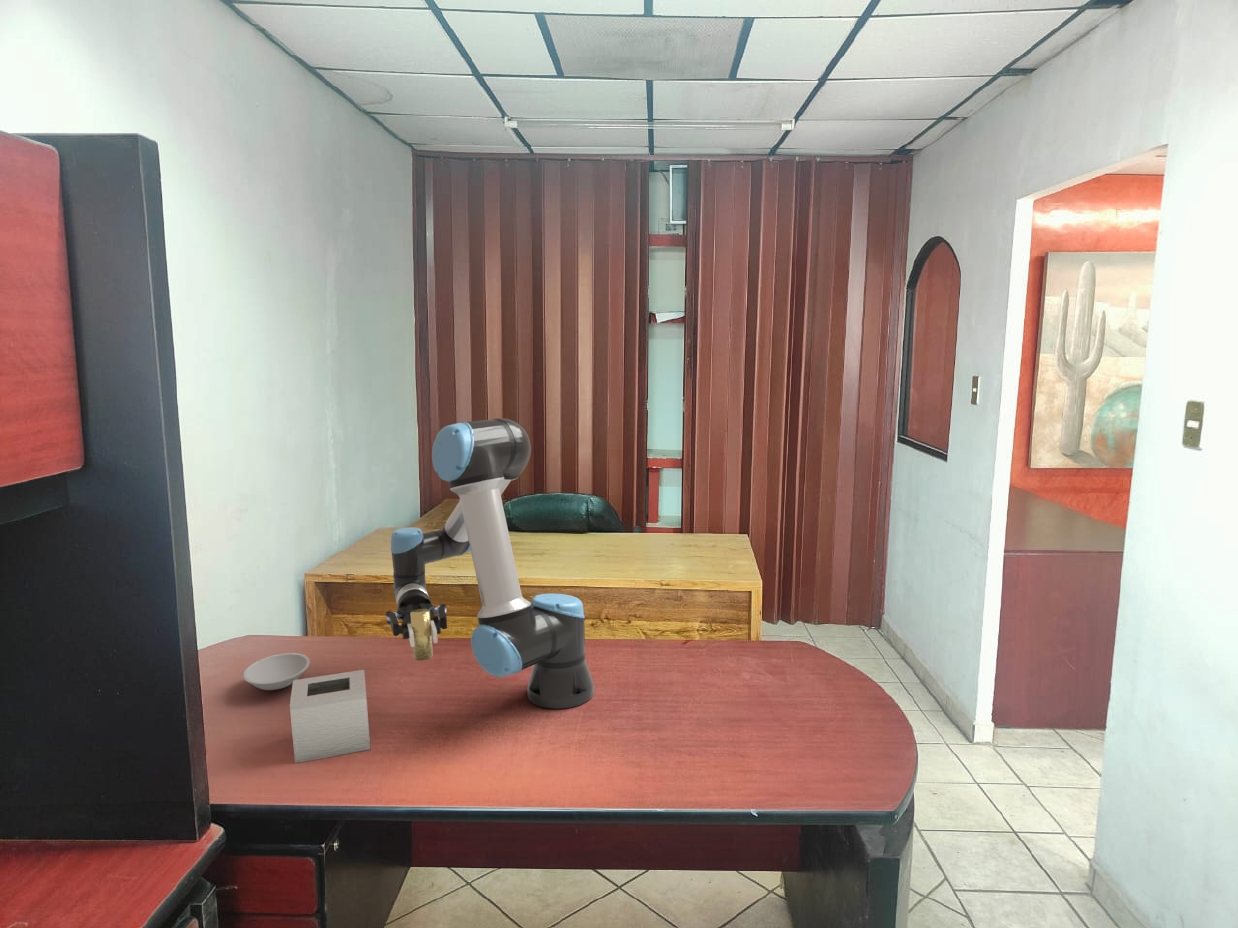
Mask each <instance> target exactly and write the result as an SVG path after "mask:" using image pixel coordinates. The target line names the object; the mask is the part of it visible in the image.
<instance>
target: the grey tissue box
mask: <svg viewBox="0 0 1238 928" xmlns="http://www.w3.org/2000/svg"><path fill="white" fill-rule="evenodd" d="M365 675H366V673H365V669H359V670H354V671H352V670H351V671H347V672H346V671H345V672H340V673H334V674H327V675H320V676H315V677H314V676H312V677H305V678H298V679H297V680H293V683H292V684H291V685H292V686H291V687H292V688H291V694H290V701H289V711H290V713H289V714H290V723H291V724H290V725H291V735H292V743H293V745H292V746H293V754H294V755H293V756H294V764H297V763H298V764H299V763H304V762H309V761H310V762H311V761H316V760H321V759H326V758H333V757H337V756H342V755H343V756H344V755H347V754H353V753H359V752H364V751H370V750H371V740H370V727H369V716H368V715H369V713H368V712H369V711H368V700H367V690H366V689H367V688H366V677H365Z"/></svg>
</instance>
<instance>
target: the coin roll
mask: <svg viewBox="0 0 1238 928" xmlns="http://www.w3.org/2000/svg"><path fill="white" fill-rule="evenodd" d="M410 615H411V626H412V629H413V633H414V644H415V646H413V647H412V653H413V654H412V655H413V660H415V661H427V660H430V659H432V658H433V656H434V654H433V653H434V652H433V651H434V649H433V639H432V636H431V621H430V610H428V609H417V610H413V611H411V613H410Z"/></svg>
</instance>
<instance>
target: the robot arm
mask: <svg viewBox="0 0 1238 928" xmlns="http://www.w3.org/2000/svg"><path fill="white" fill-rule="evenodd" d="M431 449H432V451H431V460H432V467H433V470H434V472H435V473H436V474H437V475H438V477H439V478H440V479H441V480H443V481H445V482H448V485H449V488H450V491H451V492H453V493H454V494H456V495H457V496H458V497H459V502H458V503H457V504H456V506H455V507H454V509H453V511H452V512H451V514H450V516H449V517H448V519H447V520H446V522H445V523H444V524H443V526H442V527H441V528H440V529H437V530H432V531H428V532H423V530H422V529H421V528H419V527H413V526H412V527H410V526H409V527H402V528H398V529H395V530H393V531H392V533H391V535H390V538H391V539H390V551H391V561H392V569H393V572H392V573H393V576H392V577H393V588H392V589H393V596H394V598H395V601H396V606H397V610H396V611H394V612H393V611H390V610H388V611H386V612H385V618H386V623H387V625H390V628H391V632H392V634H393V636H394V637H396V636H400V634H402V639H403V640H407V639H408V640H409V645H410V647H411V648H413V646H415V644H414V633H413V629H412V626H411V615H410V613H411V611H413V610H417V609H428V610H430V621H431V636H432V643H433V644H438V641H439V640H438V635H440V634H441V633H442V630H446V629H448V620H447V619H448V617H447V604H446V603H442V604H440V605H438V606H437V607H436V606H435V605H434V604H432V601H431V599H430V596H429V594H428V591H427V586H426V585H427V582H426V564H430V563H434V562H438V561H441V560H446V559H450V558H453V557H460V556H463V555H464V554H468V553H471V557H472V558H471V559H472V563H473V568H474V572H475V577H476V581H477V582H476V583H477V586H478V591H479V595H480V600H481V609H480V610H479V611H478V613H477V615H476V616H477V621H478V626H476V628H474V630H472V633H471V637H470V645H471V650H472V653H473V656H474V657H475V660H476V661H477V662H478V664H479V666H481V668H483V670H484V671H485V672H487V674H489V675H491V676H493V677H496V678H503V677H507V676H510V675H516V674H519V672H521V671H523V670H525V669H527V668H528V669H529V668H530V667H532V669H531V670H532V671H531V673H530V676H529V681H528V683H527V689H526V690H527V699H528V700H529V701H530V703H532V704H533V705H536V706H538V707H540V708H545V709H554V710H555V709H556V710H559V709H560V710H561V709H569V708H575V707H577V706H580V705H583V704H585V703H587V702H588V701H589V700H591V699H592V698H593V696H594V693H595V691H594V690H595V687H594V680H593V678H592V675H591V673H590V670H589V667H588V664H587V662H586V643H585V640H586V638H585V637H586V635H585V632H586V631H585V618H586V616H585V614H584V613H585V612H584V604H583V601H581V599H579V598H578V597H576V596H573V595H570V594H569V595H568V594H563V593H540V594H537V595H534V596H533V597H532V598H531V601H530V600H527V599H526V598H524V596H523V594H522V590H521V586H520V581H519V575H518V571H517V565H516V562H515V556H514V552H513V547H512V542H511V538H510V532H509V529H508V523H507V518H506V513H505V511H504V510H505V509H504V506H503V501H502V494H503V493H504V491H505V490H506V489H507V487H508V486H509V484H510V483H511V481H514V480H517V479H519V477H520V476H521V475H522V473H523V472H524V470H525V469H526V466H528V464H529V461H530V458H531V454H532V453H531V452H532V446H531V441H530V437H529V435H528V434H527V431H526V430H525V429H524V428H523V427H522V425H520V424H519V423H518V422H516V421H515V420H511V419H509V418H501V417H500V418H493V419H483V420H473V421H472V420H471V421H461V422H458V423H452V424H450V425H446V426H444V427H443V428H441V430H439V432H438V433H437V434H436V436H435V439H434V441H433V445H432V448H431ZM435 614H436V615H437V616H436V615H435ZM398 620H401V621H402V623H401V624H400V625H399V621H398ZM441 629H442V630H441Z"/></svg>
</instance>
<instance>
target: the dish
mask: <svg viewBox="0 0 1238 928" xmlns="http://www.w3.org/2000/svg"><path fill="white" fill-rule="evenodd" d="M310 663H311V661H310V658H309V657H308V656H307V655H305V654H302V653H296V652H286V653H277V654H273V655H270V656H266V657H264V658H260V659H258V660H257V661H255V662H253V663H251V664H250V665H249V666H247V667H246V668H245V670H244V671H243V673H242V679H243V680H244V681H245V682H246V683H248V684H251V685H252V686H253V687H255V688H258V689H260V690H264V691H274V690H280V689H283V688H286V687H288V686H291V685H293V680H299V679H300V678H301V676H302V675H303V674H304V673H305V671H307V669H308V668H309V667H310Z"/></svg>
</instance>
